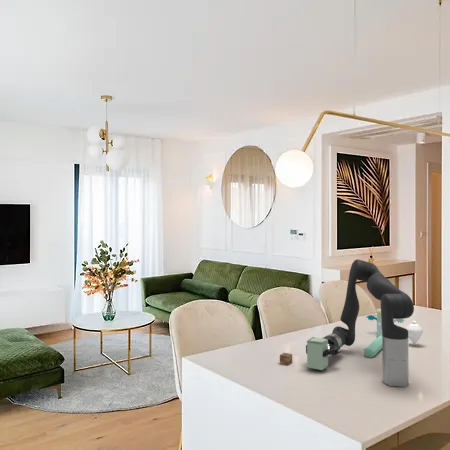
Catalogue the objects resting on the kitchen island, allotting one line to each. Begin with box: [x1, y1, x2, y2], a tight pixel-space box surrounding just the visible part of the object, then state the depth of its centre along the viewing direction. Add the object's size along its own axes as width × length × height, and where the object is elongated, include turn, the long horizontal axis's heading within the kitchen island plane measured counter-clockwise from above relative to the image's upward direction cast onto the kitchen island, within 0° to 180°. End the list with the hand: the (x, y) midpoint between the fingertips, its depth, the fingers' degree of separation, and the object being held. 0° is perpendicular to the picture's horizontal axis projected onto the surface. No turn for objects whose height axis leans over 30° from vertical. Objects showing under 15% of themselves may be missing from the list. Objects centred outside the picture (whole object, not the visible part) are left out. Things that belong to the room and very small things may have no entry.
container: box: [363, 334, 382, 359], centre depth 219 cm, size 6×6×25 cm
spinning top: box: [405, 320, 424, 347], centre depth 228 cm, size 8×8×12 cm
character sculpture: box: [366, 308, 406, 336], centre depth 249 cm, size 20×12×13 cm, turn 60°
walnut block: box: [279, 352, 293, 367], centre depth 201 cm, size 4×4×4 cm
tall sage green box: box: [306, 336, 329, 371], centre depth 192 cm, size 6×6×11 cm
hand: (315, 353), depth 190 cm, fingers closed on tall sage green box, 6 cm apart
